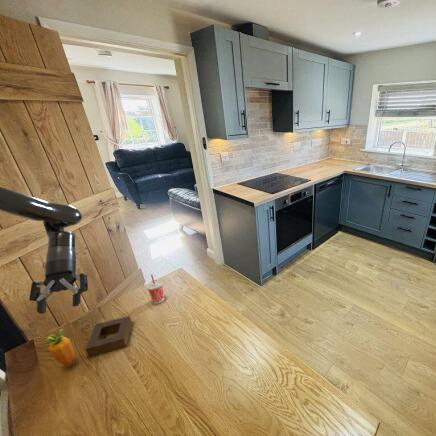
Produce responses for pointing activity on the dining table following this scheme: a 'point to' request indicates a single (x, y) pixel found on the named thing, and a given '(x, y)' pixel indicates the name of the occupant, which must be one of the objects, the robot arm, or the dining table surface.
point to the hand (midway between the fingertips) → (59, 309)
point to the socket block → (112, 343)
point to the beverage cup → (155, 290)
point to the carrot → (61, 349)
